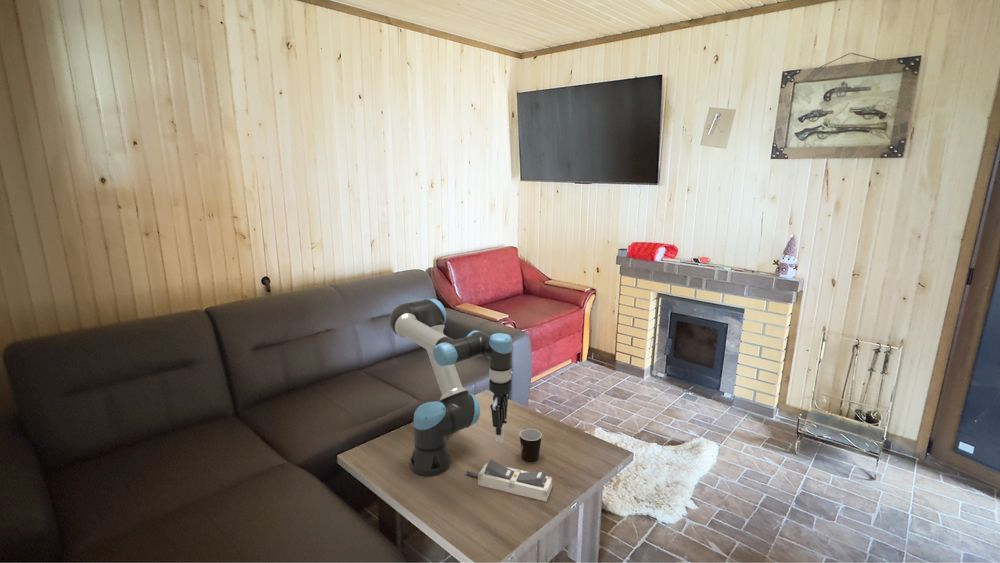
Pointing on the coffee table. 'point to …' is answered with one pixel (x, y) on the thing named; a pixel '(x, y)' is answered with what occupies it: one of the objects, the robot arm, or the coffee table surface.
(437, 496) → the coffee table surface
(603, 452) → the coffee table surface
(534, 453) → the coffee mug
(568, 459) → the coffee table surface
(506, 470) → the rocker
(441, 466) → the robot arm
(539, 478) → the rocker
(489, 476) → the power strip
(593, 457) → the coffee table surface
